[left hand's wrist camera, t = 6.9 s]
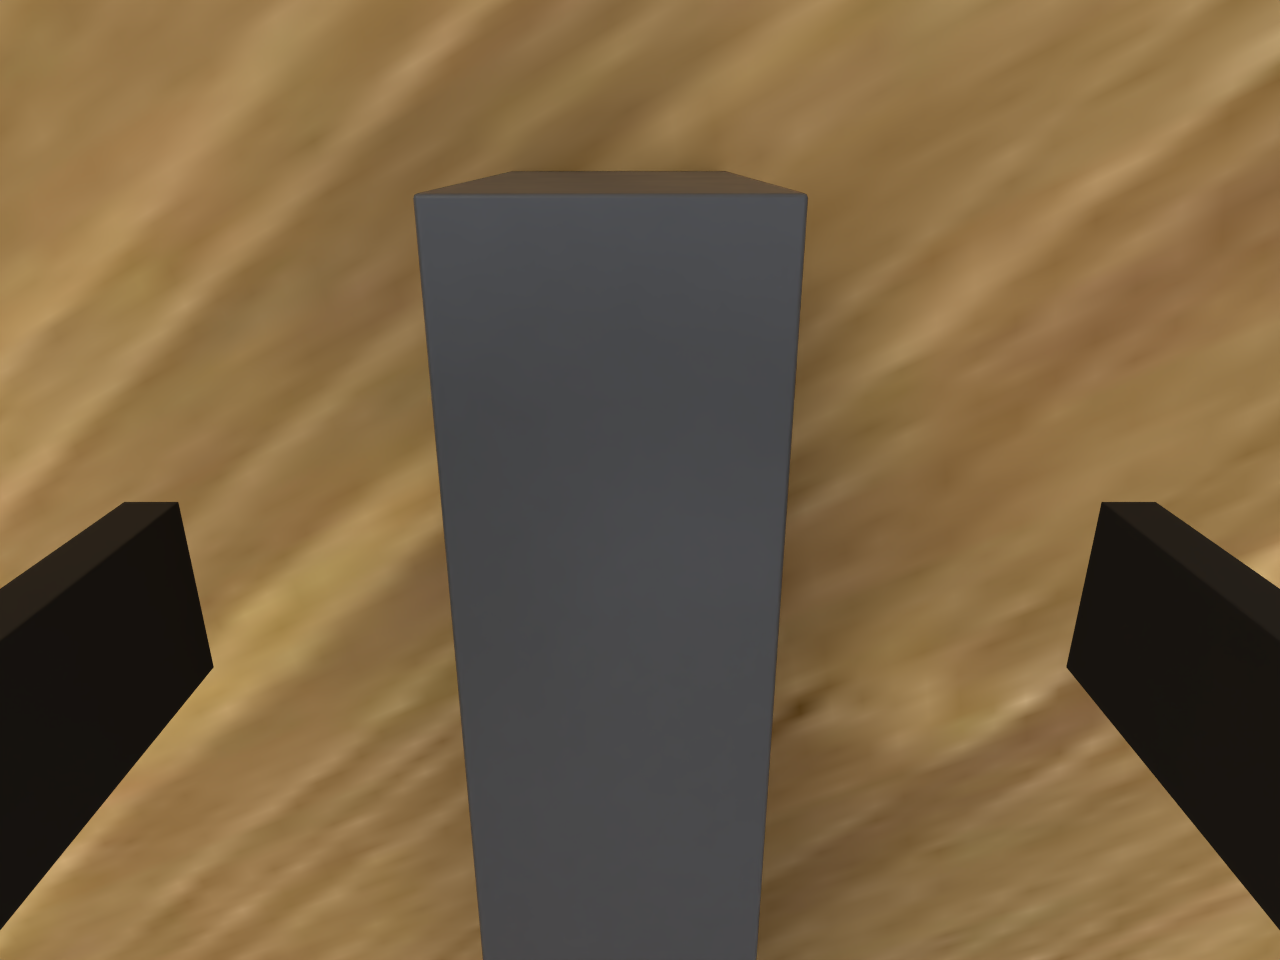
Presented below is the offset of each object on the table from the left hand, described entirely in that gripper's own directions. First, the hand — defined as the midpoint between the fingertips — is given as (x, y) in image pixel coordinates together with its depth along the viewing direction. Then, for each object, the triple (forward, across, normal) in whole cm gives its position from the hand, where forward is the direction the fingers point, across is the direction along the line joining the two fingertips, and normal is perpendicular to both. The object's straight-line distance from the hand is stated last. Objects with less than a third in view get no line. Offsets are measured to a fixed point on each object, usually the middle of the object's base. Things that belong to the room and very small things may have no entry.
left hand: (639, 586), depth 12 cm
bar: (+8, 0, -35) cm, 36 cm away
